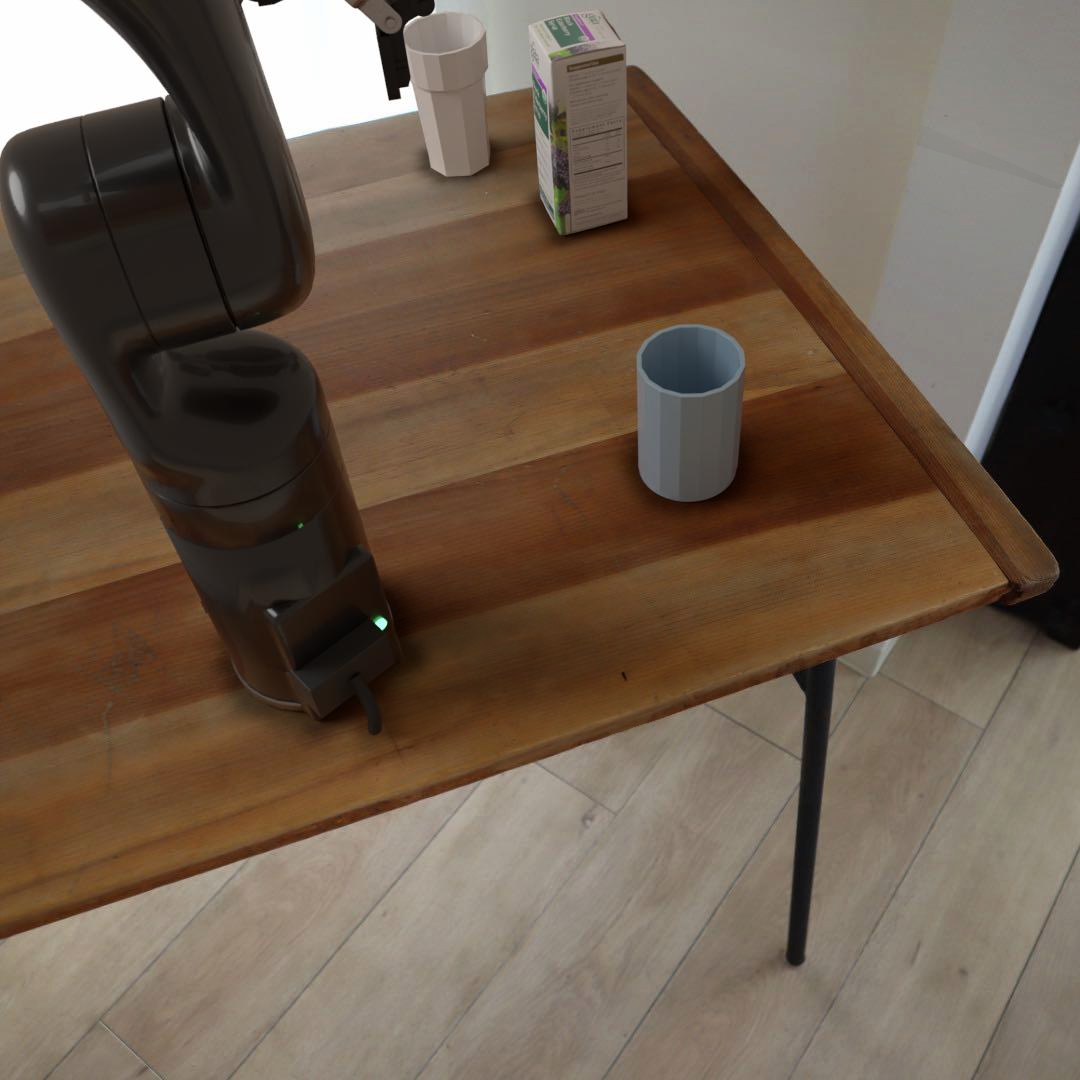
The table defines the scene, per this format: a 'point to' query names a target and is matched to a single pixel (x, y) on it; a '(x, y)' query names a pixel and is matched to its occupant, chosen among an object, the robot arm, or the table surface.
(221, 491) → the robot arm
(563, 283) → the table surface
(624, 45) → the syrup box
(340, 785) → the table surface
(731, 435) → the glass
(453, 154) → the cup
